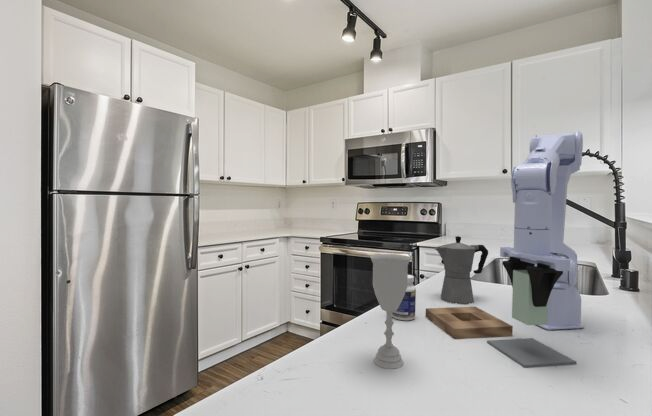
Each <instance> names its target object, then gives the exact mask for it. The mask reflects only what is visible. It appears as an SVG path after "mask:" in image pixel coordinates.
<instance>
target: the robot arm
mask: <svg viewBox="0 0 652 416" xmlns="http://www.w3.org/2000/svg"><path fill="white" fill-rule="evenodd" d="M583 141H584V139H583V133H582V132H581V131H580V130H576V131H572V132H564V133H563V132H561V133H555V134H553V133H552V134H542V135H537V134H536V135H535V134H534V135H533V136H532V137H531V138H530V141H529V154H528V155H527V156H526V158H525V160H524V161H523V162H522V163H518V164H517V166H514V167H513V168H512V170H511V174H510V175H511V177H510V183H511V190H512V193H511V194H512V203H513V204H514V219H513V221H514V223H513V227H514V228H513V247H511V246H501V247H500V250H499V257H501V258H502V257H503V258H509V259H508V260H503V261H502V266H503V267H504V269H505V271H506V273H507V274H508V277H509V280H510V283H511V286H512V289H513V270H527V272H528V274H529V277H530V281H531V287H532V301H533V306H535V307H546V305H547V302H548V324H543V325H537V326H538V327H540V328H543V329H544V330H547V331H549V330H551V331H552V330H569V329H584V328H585V325H583V324H582V323H581V322H582V320H581V319H582V318H581V317H582V296H581V293H580V291H579V290H578V288H576V287H575V285H576V284H577V280H578V269H579V268H578V254H577V253H576V251H575V250H574V249H573V248H571V247H570V246H569V245H567V244H566V243H564V240H565V237H564V236H565V227H566V224H565V222H566V211H567V210H566V209H567V195H568V185H569V181H570V178H571V176H572V174H575V173H577V172H578V171H580V170H581V166H582V159H583V147H584V143H583Z"/></svg>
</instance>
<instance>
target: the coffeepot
mask: <svg viewBox="0 0 652 416" xmlns="http://www.w3.org/2000/svg"><path fill="white" fill-rule="evenodd" d="M461 240H462V237H461V236H458V235H457V236H455V242H452V243H446V244H441V245H440V246H436V247H435V248H434V250H436V251H437V253H438V254H439V256H440V257H441V261H442V262H443V268H444V278H443V281H442V288H441V294H440V299H441V300H442V301H444V302H446V301H447V303H450V302H451V303H450V304H455V303H457V304H456V305H470V304H473V303H475V301H474V295H473V294H474V293H473V286H472V280H471V273H472V270H473V263H474V258H475V253H477V252H481V254H480V259H479V261H478V265H477V269H475V270H473V274H481V273H482V272H483V270H484V266H485V263H486V260H487V258H488V256H489V250H488V249H487V248H486V246H485V245H483V244H471V245H469V244H465V243H462V242H461ZM472 302H473V303H472ZM469 303H470V304H469Z"/></svg>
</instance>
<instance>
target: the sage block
mask: <svg viewBox="0 0 652 416" xmlns="http://www.w3.org/2000/svg"><path fill="white" fill-rule="evenodd" d="M511 300H512V301H511V318H512V319H514V320H516V321H518V322H520V323H522V324H524V325H526V326H538V325H543V324H548V302H547V305H546V307H535V306H533V301H532V287H531V281H530V277H529V274H528V272H527V270H513V288H512V299H511Z"/></svg>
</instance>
